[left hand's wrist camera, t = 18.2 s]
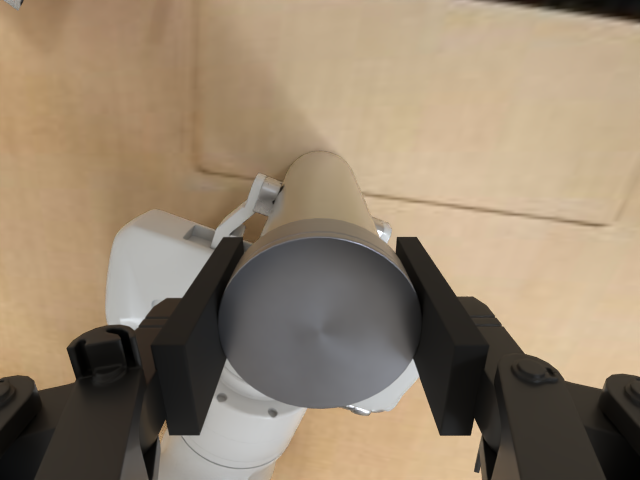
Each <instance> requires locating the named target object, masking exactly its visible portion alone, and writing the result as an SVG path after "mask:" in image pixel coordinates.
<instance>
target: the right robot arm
mask: <svg viewBox="0 0 640 480" xmlns="http://www.w3.org/2000/svg"><path fill="white" fill-rule="evenodd" d="M282 183H283V182H281V181H279V180H276V179H274V178H271V177H269V176H267V175H264V174H261V173H258V174H257V176H256V177H255V180H254V182H253V184H252V187H251V190H250V193H249V196H248V199H247V200H246V201H245V202H243V203H242V204H241V205H240V206H238V207H237V208H236V209H235V210H233V211H232V212H231V213H230V214H229V215H227V216H226V217H225V218H224V219H223V221H222V222H221V223H220V225H219V226H218V227H217V228H216V230H215V229H212V228H209V227H207V226H204V225H201V224H198V223H195V222H193V221H190V220H187V219H184V218H182V217H179V216H176V215H173V214H171V213H168V212H165V211H162V210H159V209H152V210H150V211H148V212H146V213H143V214H141V215H139V216H138V217H136V218H134V219H133V220H131V221H130V222H128V223H127V224H126V225H124V226H123V227H122V228H121V229H120V230H119V232H118V233H117V234H116V236H115V238H114V241H113V245H112V249H111V254H110V259H109V266H108V273H107V283H106V298H105V314H106V320H107V324H108V325H119V324H121V325H125V326H130V327H131V328H132V329H133V330H135V329H136V328H138V327H139V324H140V323H141V322H142V320H143V319H145V317H146V315H147V314H148V313H149V312H150V310H151V309H152V308H153V307H154V306H155V305H157V304H158V303H160V302H161V301H163V300H164V299H166V298H182V297H183V296H184V294H185V293H186V291H187V290H188V289H189V287H190V286H191V284H192V283H193V281H194V280H195V278H196V277H197V275H198V274H199V272H200V271H201V269H202V268H203V266H204V265H205V263H206V262H207V260H208V259H209V257H210V256H211V254H212V253H213V251H214V250H215V248H216V247H217V245H218V244H219V243H220V241H221V240H222V238H223V237H243V235H244V231H245V228H246V226H245V225H244V224H242V223H243V222H245V221H246V220H247V219H248V218H250V217H251V216H252V215H253V214H254V213H255V212H257V213H260V214H263V215H266V216H269V214H270V211H271V209H272V207H273V204H274V202H275V199H276V197H277V196H278V193H279V191H280V189H281V186H282ZM372 219H373V221H374V224H375V226H376V229H377V231H378V233H379V236H380V238H381V239H382V240H383V241H384V242H386V243H387V242H388V240H389V238H390V236H391V232H392V228H391V227H390V225H389V223H387V222H385V221H382V220H379V219H377V218H374V217H372ZM252 244H253V243H251V242H248V241H245V240H243V246H244V253H245V252H246V251H247V250H248V248H249V247H250V246H251V245H252ZM418 378H419V374H418V371H417V368H416V366H415V363H414V360H413V359H412V361H411V362H410V364H409V365H408V367H407V368H406V370H405V371H404V372H403V373H402V374H401V375H400V377H399V378H398V379H397V380H395V381H394V382H393V383H392V384H391V385H390V386H388V387H387V388H385V389H384V390H383V391H381V392H380V393H378V394H376V395H374V396H372V397H370V398H368V399H366V400H363V401H361V402H358V403H354V404H351V405H347V406H342V407H339V408H343V409H347V410H350V411H351V412H353V413H355V414H358V415H363V416H369V415H370V413H371V412H374V413H377V412H383V411H391V410H392V409H393V408H394V407H395V406H396V405H397V403H398V402H399V400H400V399H401V397H402V396H403V394H404V393H405V392H406V391H407V390H408V389H409V388H410V387H411V386H412V385H413V384H414V382H415V381H416V380H417V379H418ZM306 410H307V408H304V407H297V406H293V405H289V404H285V403H282V402H279V401H276V400H274V399H272V398H270V397H268V396H265V395H264V394H262V393H260V392H259V391H257V390H255V389H254V388H253V387H251V386H250V385H249V384H248V383H246V382H245V381H244V380H243V379H242V378H241V377H240V376H239V375H238V374H237V372H236V371H235V370H234V369H233V367H232V366H231V365H230V363H229V361H228V359H226V362H225V365H224V368H223V371H222V373H221V376H220V379H219V382H218V385H217V388H216V391H215V393H214V396H213V399H212V402H211V405H210V408H209V410H208V413H207V416H206V419H205V422H204V425H203V428H202V430H201V433H200V436H169V432H168V428H167V429H166V431H165V433H164V435H163V438H162V441H161V443H160V447H161V454H160V464H159V474H158V480H271V477H272V475H273V472H274V469H275V463H276V460H277V459H278V458H279V457H280V456H281V455H282V454H283V452H284V451H285V450H286V448H287V447H288V445H289V443H290V441H291V439H292V437H293V435H294V433H295V431H296V429H297V427H298V425H299V424H300V422H301V420H302V418H303V416H304V414H305V412H306Z"/></svg>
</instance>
